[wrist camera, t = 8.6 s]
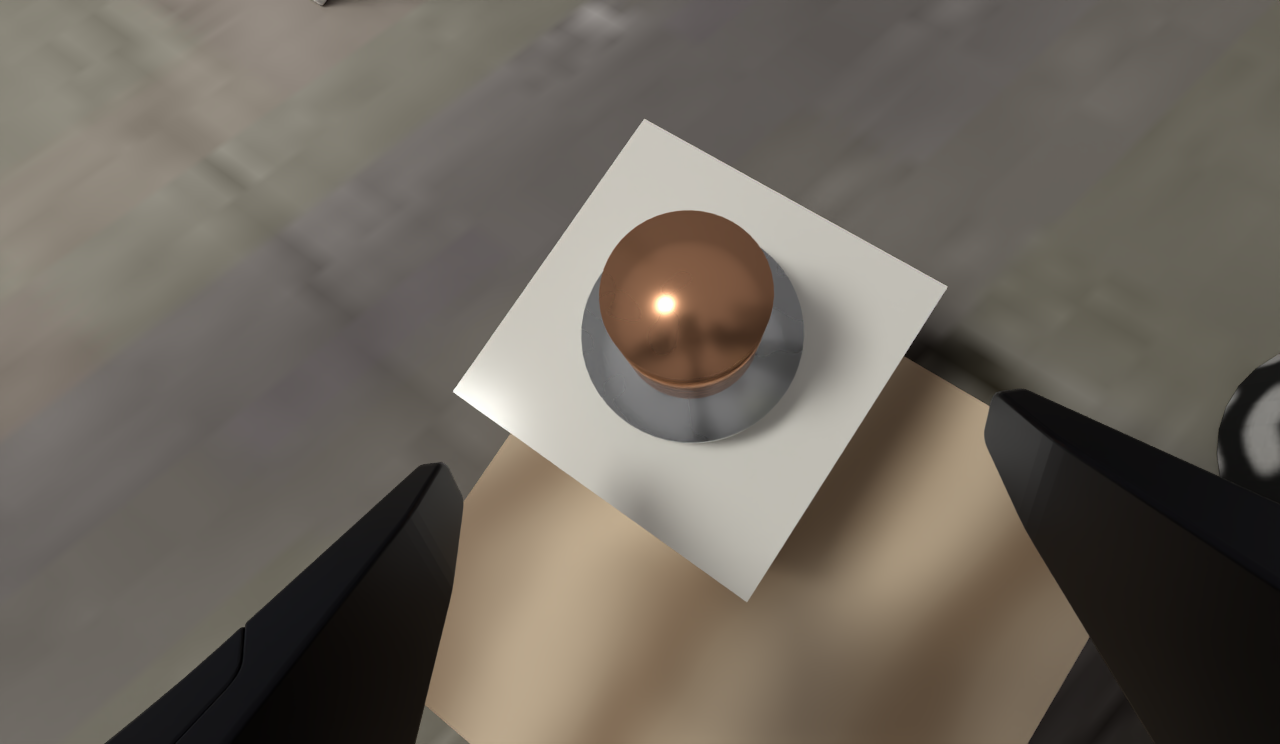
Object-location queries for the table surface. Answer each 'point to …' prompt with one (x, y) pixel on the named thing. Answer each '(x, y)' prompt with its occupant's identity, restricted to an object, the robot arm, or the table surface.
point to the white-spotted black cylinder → (1253, 433)
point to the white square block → (743, 463)
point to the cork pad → (764, 606)
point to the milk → (320, 1)
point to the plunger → (691, 329)
